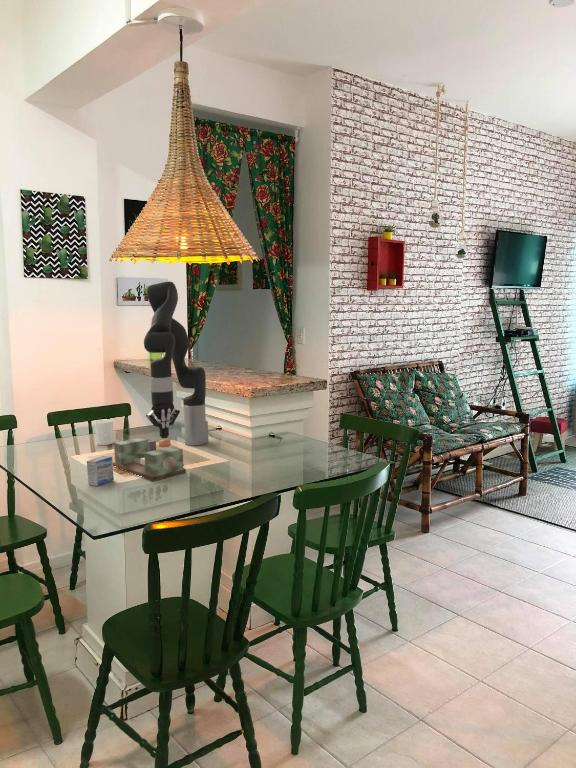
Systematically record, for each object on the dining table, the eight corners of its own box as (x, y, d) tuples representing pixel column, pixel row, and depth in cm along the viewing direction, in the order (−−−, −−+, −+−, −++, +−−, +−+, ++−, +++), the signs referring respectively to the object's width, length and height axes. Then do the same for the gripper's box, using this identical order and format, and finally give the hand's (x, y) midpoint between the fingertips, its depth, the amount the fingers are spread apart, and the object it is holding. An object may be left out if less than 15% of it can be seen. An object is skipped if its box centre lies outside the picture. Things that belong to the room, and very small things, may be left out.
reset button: (166, 444, 228) (166, 438, 228) (172, 445, 225) (172, 440, 225) (156, 446, 225) (156, 440, 225) (163, 447, 222) (162, 442, 222)
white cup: (106, 440, 284) (105, 418, 282) (118, 442, 279) (116, 420, 278) (92, 444, 278) (90, 421, 276) (103, 446, 273) (102, 423, 272)
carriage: (159, 463, 237) (158, 438, 236) (168, 466, 233) (167, 441, 231) (140, 467, 232) (139, 442, 230) (149, 470, 227) (148, 445, 226)
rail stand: (145, 459, 250) (144, 436, 249) (186, 473, 230) (185, 448, 229) (112, 466, 241) (111, 443, 240) (152, 481, 220) (151, 456, 219)
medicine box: (97, 486, 216) (95, 461, 215) (87, 485, 218) (86, 460, 217) (114, 480, 223) (112, 456, 222) (104, 478, 225) (103, 455, 224)
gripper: (172, 386, 229) (174, 433, 232) (139, 390, 221) (142, 439, 223) (184, 388, 224) (186, 436, 227) (151, 392, 215) (153, 442, 218)
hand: (164, 437), depth 225 cm, fingers closed
